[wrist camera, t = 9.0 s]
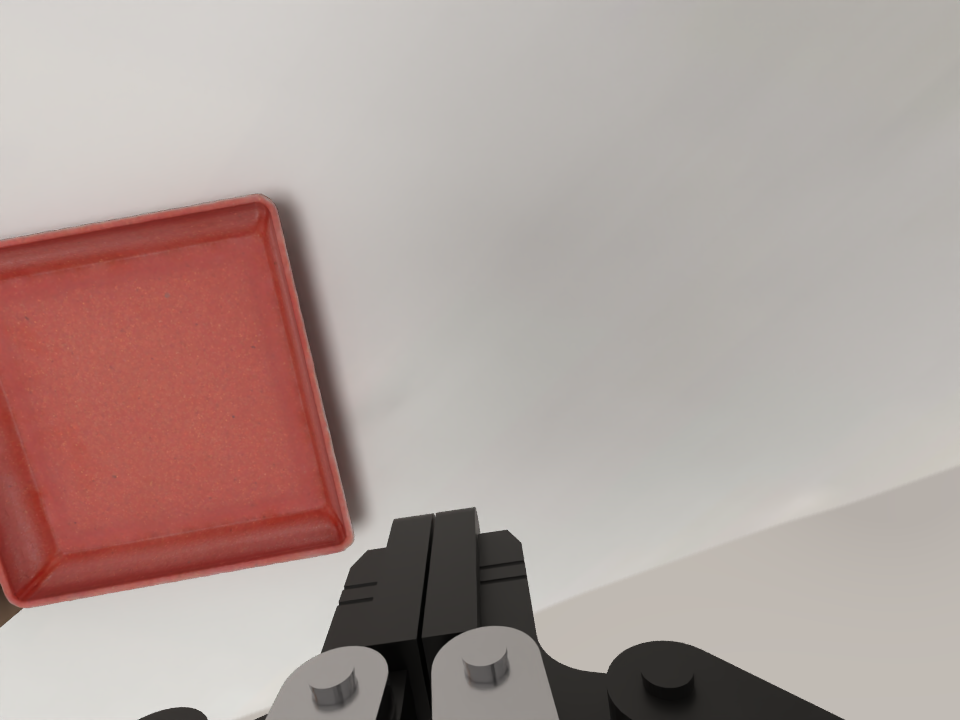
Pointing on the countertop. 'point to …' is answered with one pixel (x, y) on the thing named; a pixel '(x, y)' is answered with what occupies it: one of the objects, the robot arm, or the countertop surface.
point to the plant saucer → (158, 406)
